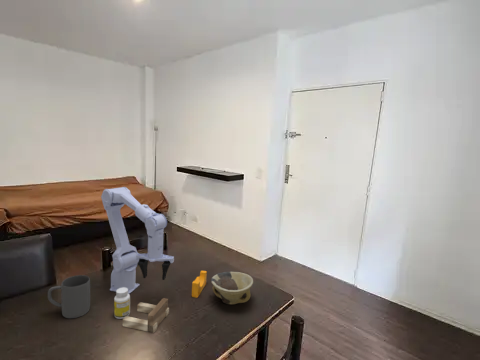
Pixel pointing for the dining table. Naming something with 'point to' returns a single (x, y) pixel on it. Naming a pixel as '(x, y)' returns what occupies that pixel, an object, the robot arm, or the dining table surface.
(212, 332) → the dining table surface
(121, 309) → the supplement bottle
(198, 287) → the pipe clamp
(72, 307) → the mug
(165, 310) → the can dock
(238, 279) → the bowl
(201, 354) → the dining table surface
